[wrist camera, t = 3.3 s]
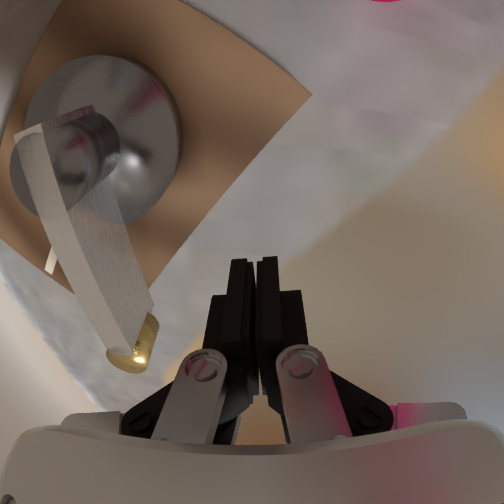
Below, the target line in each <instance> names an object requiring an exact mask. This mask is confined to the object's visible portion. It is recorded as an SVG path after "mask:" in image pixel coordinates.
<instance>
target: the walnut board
mask: <svg viewBox="0 0 504 504" xmlns="http://www.w3.org/2000/svg"><path fill="white" fill-rule="evenodd" d="M93 55H117V56H123V57H128V58H131V59H133V60H136V61H138V62H140V63H142V64H144V65H146V66H147V67H148V68H150V69H151V70H152V71H154V72H155V73H156V74H157V75H158V76H159V77H160V78H161V79H162V80H163V81H164V83H165V84H166V85H167V87H168V88H169V90H170V91H171V93H172V95H173V97H174V99H175V101H176V103H177V106H178V109H179V112H180V116H181V120H182V127H183V149H182V156H181V160H180V163H179V167H178V170H177V172H176V174H175V176H174V178H173V180H172V182H171V183H170V185H169V187H168V188H167V190H166V191H165V192H164V194H163V195H162V196H161V198H160V199H159V200H158V202H157V203H156V204H155V206H154V207H153V208H152V209H150V210H149V211H148V212H147V213H146V214H145V215H143V216H142V217H141V218H139V219H137V220H136V221H134V222H132V223H129V224H127V225H125V227H126V230H127V233H128V236H129V239H130V242H131V244H132V247H133V250H134V253H135V256H136V259H137V261H138V264H139V267H140V270H141V272H142V275H143V278H144V280H145V283H146V286H147V288H148V289H149V287H150V286H151V285H152V283H153V282H154V281H155V280H156V278H157V277H158V276H159V274H160V273H161V272H162V270H163V269H164V268H165V266H166V265H167V264H168V262H169V261H170V260H171V259H172V257H173V256H174V255H175V253H176V252H177V251H178V250H179V248H180V247H181V246H182V245H183V243H184V242H185V241H186V239H187V238H188V237H189V236H190V234H191V233H192V232H193V231H194V229H195V228H196V227H197V226H198V224H199V223H200V222H201V221H202V220H203V218H204V217H205V216H206V215H207V213H208V212H209V211H210V210H211V209H212V207H213V206H214V205H215V204H216V202H217V201H218V200H219V199H220V198H221V196H222V195H223V194H224V193H225V192H226V190H227V189H228V188H229V187H230V186H231V185H232V183H233V182H234V181H235V180H236V179H237V177H238V176H239V175H240V174H241V173H242V172H243V171H244V169H245V168H246V167H247V166H248V165H249V164H250V162H251V161H252V160H253V159H254V158H255V157H256V156H257V154H258V153H259V152H260V151H261V150H262V149H263V148H264V146H265V145H266V144H267V143H268V142H269V141H270V140H271V139H272V138H273V136H274V135H275V134H276V133H277V132H278V131H279V130H280V129H281V128H282V126H283V125H284V124H285V123H286V122H287V121H288V120H289V119H290V118H291V117H292V116H293V115H294V113H295V112H296V111H297V110H298V109H299V108H300V107H301V106H302V105H303V104H304V103H305V102H306V101H307V100H308V98H309V97H310V96H311V95H312V93H311V92H309V91H308V90H307V89H306V88H305V87H303V86H302V85H301V84H300V83H299V82H298V81H296V80H295V79H294V78H293V77H291V76H290V75H289V74H288V73H286V72H285V71H284V70H283V69H281V68H280V67H279V66H278V65H276V64H275V63H274V62H272V61H271V60H270V59H268V58H267V57H266V56H265V55H263V54H262V53H260V52H259V51H258V50H256V49H255V48H254V47H252V46H251V45H249V44H248V43H247V42H245V41H244V40H242V39H241V38H239V37H238V36H236V35H235V34H233V33H232V32H230V31H229V30H227V29H226V28H224V27H223V26H221V25H220V24H218V23H217V22H215V21H213V20H212V19H210V18H209V17H207V16H205V15H204V14H202V13H200V12H199V11H197V10H195V9H194V8H192V7H190V6H188V5H187V4H185V3H183V2H181V1H179V0H62V2H61V3H60V5H59V7H58V8H57V10H56V12H55V13H54V15H53V17H52V19H51V20H50V22H49V24H48V26H47V28H46V30H45V31H44V33H43V35H42V37H41V39H40V41H39V43H38V45H37V47H36V49H35V51H34V54H33V56H32V58H31V60H30V62H29V65H28V67H27V69H26V72H25V74H24V76H23V79H22V81H21V84H20V87H19V89H18V92H17V95H16V97H15V100H14V103H13V106H12V109H11V112H10V115H9V118H8V121H7V124H6V128H5V131H4V135H3V138H2V142H1V146H0V238H1V239H2V240H3V241H4V242H5V243H7V244H8V245H9V246H10V247H12V248H13V249H14V250H15V251H16V252H18V253H19V254H20V255H21V256H23V257H24V258H25V259H27V260H28V261H29V262H30V263H32V264H33V265H34V266H36V267H37V268H38V269H40V270H41V271H42V272H44V273H45V274H46V275H48V276H49V277H50V278H52V279H53V280H55V281H56V282H57V283H59V284H60V285H62V286H63V287H65V288H66V289H67V290H69V291H70V292H72V293H73V294H75V293H74V291H73V289H72V287H71V285H70V283H69V282H68V280H67V278H66V276H65V273H64V271H63V269H62V267H61V265H60V263H59V261H58V259H57V257H56V254H55V252H54V250H53V248H52V245H51V243H50V241H49V239H48V236H47V234H46V231H45V229H44V227H43V224H42V222H41V219H40V217H37V216H36V215H34V214H32V213H31V212H30V211H28V210H27V209H26V208H25V207H24V206H23V204H22V203H21V202H20V201H19V199H18V197H17V196H16V194H15V192H14V189H13V186H12V183H11V179H10V171H9V165H10V158H11V154H12V151H13V149H14V147H15V145H16V143H15V139H14V135H15V134H17V133H19V132H22V131H24V124H25V119H26V114H27V111H28V108H29V105H30V103H31V101H32V98H33V96H34V95H35V93H36V91H37V90H38V88H39V87H40V85H41V84H42V83H43V81H44V80H45V79H46V78H47V77H48V76H49V75H50V74H51V73H52V72H53V71H55V70H56V69H58V68H59V67H60V66H62V65H64V64H66V63H67V62H69V61H72V60H75V59H77V58H80V57H86V56H93Z"/></svg>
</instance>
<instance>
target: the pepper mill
mask: <svg viewBox="0 0 504 504" xmlns="http://www.w3.org/2000/svg"><path fill="white" fill-rule="evenodd" d="M373 1H380V2H393V1H399V0H373Z"/></svg>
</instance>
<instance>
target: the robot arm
mask: <svg viewBox="0 0 504 504" xmlns="http://www.w3.org/2000/svg"><path fill="white" fill-rule="evenodd" d="M259 371H260V377H261V384H262V390H263V395H267V397H268V404H269V406H270V407H271V408H272V409H274V410H275V411H276V412H278V413H279V414H280V419H281V424H282V429H283V434H284V438H285V444H278V445H235V443H236V438H237V435H238V430H239V426H240V422H241V415H242V412H243V411H244V410H246V409H247V408H248V407H249V406H250V404H253V395H259ZM0 504H504V435H503V433H502V432H501V431H500V430H499V429H498V428H497V427H495V426H494V425H491V424H489V423H486V422H482V421H477V420H468V419H467V415H466V412H465V410H464V409H463V408H462V407H461V406H460V405H458V404H457V403H453V402H438V403H398V404H397V406H388V405H387V404H386V403H384V402H383V401H381V400H380V399H378V398H376V397H374V396H373V395H371V394H369V393H367V392H366V391H364V390H362V389H361V388H359V387H357V386H355V385H354V384H352V383H350V382H349V381H347V380H345V379H344V378H342V377H340V376H339V375H337V374H335V373H333V372H332V371H330V370H329V368H328V365H327V362H326V360H325V357H324V356H323V354H322V353H321V352H320V351H319V350H318V349H317V348H315V347H312V346H310V345H308V337H307V329H306V322H305V315H304V309H303V301H302V294H301V290H291V291H280V288H279V273H278V259H277V256H272V257H263V261H257V281H256V283H255V275H254V267H253V262H247V258H244V259H232V260H231V266H230V273H229V280H228V287H227V294H226V295H213V296H212V299H211V304H210V310H209V315H208V320H207V325H206V330H205V336H204V341H203V347H202V349H200V350H196V351H194V352H192V353H190V354H189V355H187V356H186V357H185V358H184V360H183V361H182V363H181V365H180V367H179V370H178V372H177V375H176V377H175V379H174V381H172V382H171V383H170V384H168V385H166V386H165V387H163V388H162V389H160V390H159V391H157V392H156V393H154V394H153V395H151V396H150V397H148V398H146V399H145V400H143V401H142V402H140V403H139V404H137V405H136V406H134V407H133V408H131V409H130V410H129V411H127V412H126V413H121V412H120V411H112V412H98V413H76V414H71V415H69V416H67V417H66V418H65V419H64V420H63V421H62V423H61V425H51V426H50V425H49V426H42V427H37V428H33V429H30V430H28V431H26V432H24V433H23V434H21V435H20V436H19V438H18V439H17V440H16V441H15V443H14V445H13V447H12V449H11V451H10V453H9V455H8V457H7V459H6V462H5V464H4V467H3V470H2V473H1V476H0Z"/></svg>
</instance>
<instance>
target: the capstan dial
mask: <svg viewBox="0 0 504 504" xmlns="http://www.w3.org/2000/svg"><path fill="white" fill-rule="evenodd" d="M14 139H15V143H16V145H15V147H14V149H13V151H12V154H11V158H10V165H9V171H10V179H11V183H12V186H13V189H14V192H15V194H16V196H17V197H18V199H19V201H20V202H21V203H22V204H23V206H24V207H25V208H26V209H27V210H28V211H30V212H31V213H32V214H34V215H36V216H37V217H40V219H41V222H42V224H43V227H44V229H45V231H46V234H47V236H48V239H49V241H50V243H51V245H52V248H53V250H54V252H55V254H56V257H57V259H58V261H59V263H60V265H61V267H62V269H63V271H64V273H65V276H66V278H67V280H68V282H69V283H70V285H71V287H72V289H73V291H74V293H75V295H76V297H77V299H78V301H79V303H80V304H81V306H82V308H83V310H84V312H85V313H86V315H87V317H88V319H89V320H90V322H91V324H92V325H93V327H94V329H95V331H96V332H97V334H98V336H99V337H100V339H101V340H102V342H103V344H104V345H105V347H106V348H107V351H106V356H107V358H108V360H109V361H110V362H111V363H112V364H113V365H114V366H116V367H117V368H119V369H121V370H123V371H126V372H129V373H142V372H144V371H145V370H146V368H147V365H148V362H149V359H150V355H151V352H152V349H153V346H154V343H155V340H156V337H157V334H158V331H159V323H158V321H157V319H156V318H155V317H154V316H153V315H152V314H151V312H152V309H153V307H154V303H153V301H152V298H151V296H150V293H149V291H148V288H147V286H146V283H145V280H144V278H143V275H142V272H141V270H140V267H139V264H138V261H137V259H136V256H135V253H134V250H133V247H132V244H131V242H130V239H129V236H128V233H127V230H126V227H125V225H127V224H129V223H132V222H134V221H136V220H137V219H139V218H141V217H142V216H143V215H145V214H146V213H147V212H148V211H149V210H150V209H152V208H153V207H154V206H155V204H156V203H157V202H158V200H159V199H160V198H161V196H162V195H163V194H164V192H165V191H166V190H167V188H168V187H169V185H170V183H171V182H172V180H173V178H174V176H175V174H176V172H177V170H178V167H179V163H180V160H181V156H182V149H183V127H182V120H181V116H180V112H179V109H178V106H177V103H176V101H175V99H174V97H173V95H172V93H171V91H170V90H169V88H168V87H167V85H166V84H165V83H164V81H163V80H162V79H161V78H160V77H159V76H158V75H157V74H156V73H155V72H154V71H152V70H151V69H150V68H148V67H147V66H146V65H144V64H142V63H140V62H138V61H136V60H133V59H131V58H128V57H123V56H117V55H93V56H86V57H80V58H77V59H75V60H72V61H69V62H67V63H66V64H64V65H62V66H60V67H59V68H58V69H56V70H55V71H53V72H52V73H51V74H50V75H49V76H48V77H47V78H46V79H45V80H44V81H43V83H42V84H41V85H40V87H39V88H38V90H37V91H36V93H35V95H34V96H33V98H32V101H31V103H30V105H29V108H28V111H27V114H26V119H25V124H24V131H22V132H19V133H17V134H15V135H14Z"/></svg>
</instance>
